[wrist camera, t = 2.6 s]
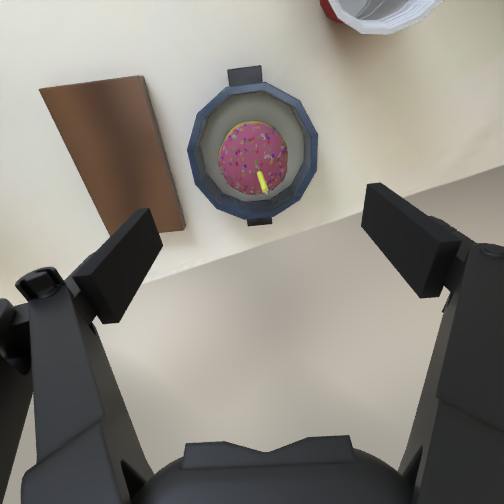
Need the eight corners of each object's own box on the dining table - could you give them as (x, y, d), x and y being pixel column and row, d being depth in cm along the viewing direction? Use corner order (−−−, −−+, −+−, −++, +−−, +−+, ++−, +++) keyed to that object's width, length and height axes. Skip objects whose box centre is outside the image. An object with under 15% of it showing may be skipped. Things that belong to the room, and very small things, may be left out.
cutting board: (114, 233, 41) (110, 237, 39) (46, 89, 30) (38, 88, 29) (186, 226, 40) (184, 230, 39) (143, 75, 29) (138, 75, 28)
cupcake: (296, 157, 34) (315, 184, 24) (249, 195, 37) (249, 233, 27) (257, 102, 31) (260, 107, 21) (209, 148, 34) (191, 173, 24)
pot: (210, 219, 39) (206, 233, 36) (179, 78, 29) (169, 76, 26) (308, 209, 39) (314, 222, 35) (311, 60, 29) (320, 56, 25)
